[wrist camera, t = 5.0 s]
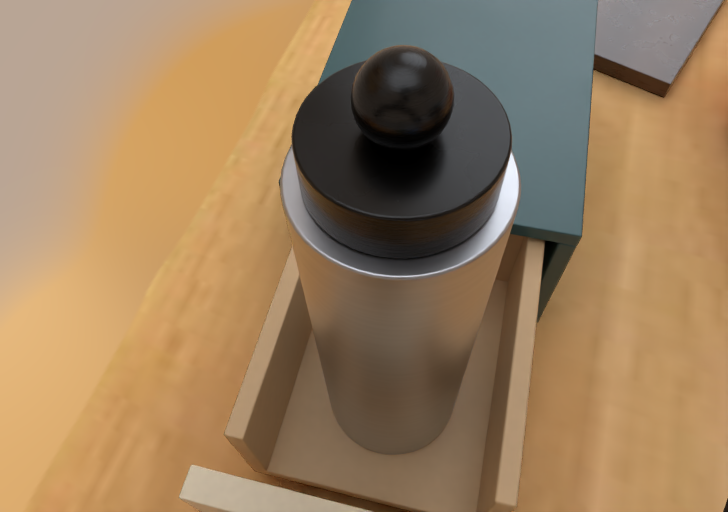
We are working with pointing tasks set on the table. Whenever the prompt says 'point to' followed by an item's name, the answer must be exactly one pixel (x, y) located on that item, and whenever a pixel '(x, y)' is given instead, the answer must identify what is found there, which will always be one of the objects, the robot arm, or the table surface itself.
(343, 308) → the pepper mill
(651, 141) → the table surface
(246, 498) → the drawer
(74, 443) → the table surface
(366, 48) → the cabinet
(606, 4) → the board
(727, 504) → the robot arm
